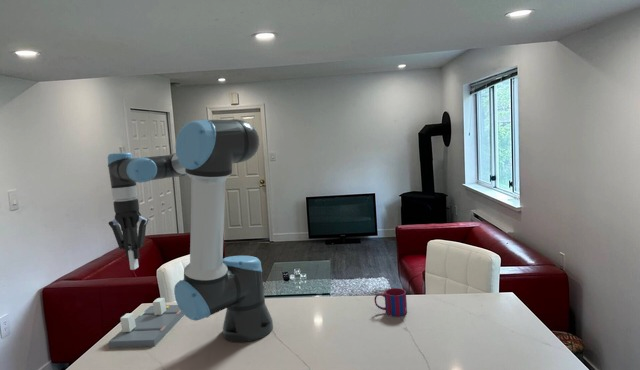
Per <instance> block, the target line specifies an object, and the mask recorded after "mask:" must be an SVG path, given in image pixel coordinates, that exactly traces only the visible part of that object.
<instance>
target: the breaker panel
mask: <svg viewBox="0 0 640 370" xmlns="http://www.w3.org/2000/svg"><path fill="white" fill-rule="evenodd" d="M165 305H166V311H165V312H164V313H163V314H162V315H154V308H153V305H150V306H149V307H147V308H146V309H145V310H144V311H143V312H142V313H140V314H139V315H138V316H137V317H135V324H136V327H135V328H134V329H133V330H131V331H130V332H122V329H121V330H120V331H119V332H118V333H117V334H116V335H114V336H113V337H112V338H111V339H110V340H108V344H109V348H111V349H113V348H114V349H115V348H142V347H143V348H144V347H156V346H157V345H158V344H159V342H161V340H162V339H163V338H164V337H165V336H166V335H167V334H168V333H169V332H170V331H171V330H172V328H174V327H175V325H176V324H177V323H178V322H179V321H180V320H181V319H182V318H183V317H184V316H185V315H184V314H183V312H182V311H181V310H180V308H179V306H178V304H168V305H167V304H165Z"/></svg>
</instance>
